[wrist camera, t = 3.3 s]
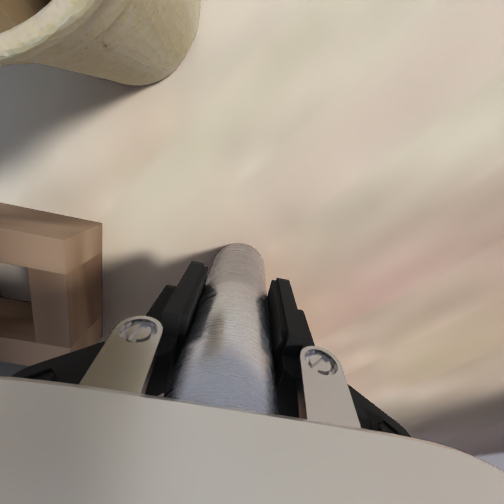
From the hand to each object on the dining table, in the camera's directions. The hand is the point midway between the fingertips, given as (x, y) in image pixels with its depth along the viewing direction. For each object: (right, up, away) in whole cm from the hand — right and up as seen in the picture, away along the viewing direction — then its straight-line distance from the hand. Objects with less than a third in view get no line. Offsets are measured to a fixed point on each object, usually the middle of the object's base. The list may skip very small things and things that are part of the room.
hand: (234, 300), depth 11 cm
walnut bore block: (-12, +1, +4) cm, 13 cm away
